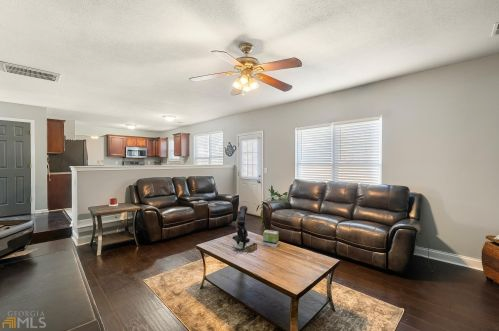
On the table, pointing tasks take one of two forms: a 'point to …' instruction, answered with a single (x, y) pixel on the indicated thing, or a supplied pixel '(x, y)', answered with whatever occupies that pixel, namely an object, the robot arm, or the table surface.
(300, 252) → the table surface
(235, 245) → the lid
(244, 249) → the slate mat
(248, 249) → the walnut box
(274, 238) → the tea box
